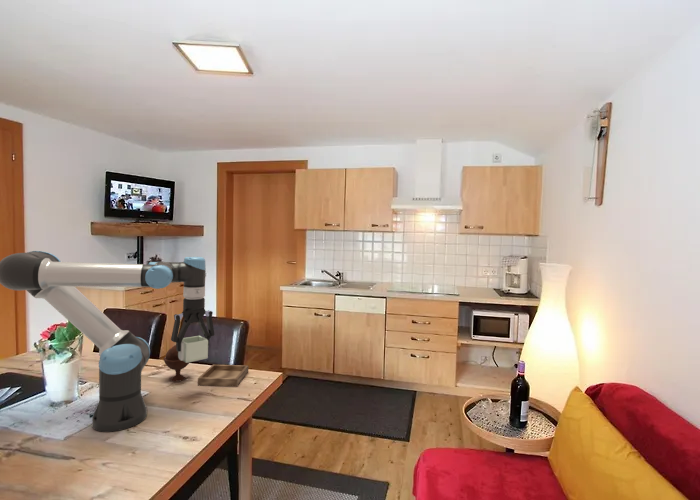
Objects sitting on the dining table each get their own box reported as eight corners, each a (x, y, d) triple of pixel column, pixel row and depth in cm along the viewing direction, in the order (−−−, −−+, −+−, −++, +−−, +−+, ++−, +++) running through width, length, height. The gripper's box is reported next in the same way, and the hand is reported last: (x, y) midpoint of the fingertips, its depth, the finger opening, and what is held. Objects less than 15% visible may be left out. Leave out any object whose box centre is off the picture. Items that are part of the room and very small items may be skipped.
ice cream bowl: (197, 377, 157) (197, 343, 156) (172, 386, 147) (173, 349, 147) (182, 372, 162) (183, 338, 162) (158, 380, 153) (158, 344, 152)
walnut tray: (197, 385, 149) (197, 378, 149) (212, 371, 165) (213, 364, 165) (236, 386, 149) (237, 379, 148) (248, 372, 164) (248, 365, 164)
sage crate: (186, 362, 133) (186, 343, 133) (178, 357, 139) (178, 339, 139) (207, 358, 139) (208, 340, 139) (199, 353, 145) (199, 335, 145)
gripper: (168, 301, 128) (167, 365, 129) (224, 296, 143) (223, 354, 144) (161, 298, 134) (160, 360, 134) (216, 294, 148) (215, 349, 149)
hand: (192, 357), depth 139 cm, fingers closed on sage crate, 8 cm apart
